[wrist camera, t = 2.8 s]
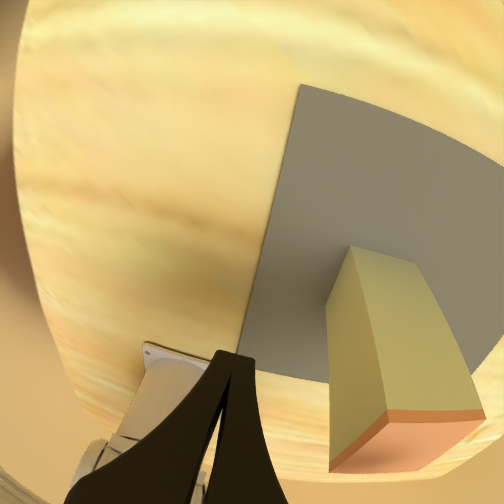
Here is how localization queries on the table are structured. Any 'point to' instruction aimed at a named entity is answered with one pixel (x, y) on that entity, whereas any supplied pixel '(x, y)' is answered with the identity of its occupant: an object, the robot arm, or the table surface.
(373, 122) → the rubber mat
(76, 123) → the table surface
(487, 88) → the table surface
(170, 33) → the table surface
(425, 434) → the sage block
